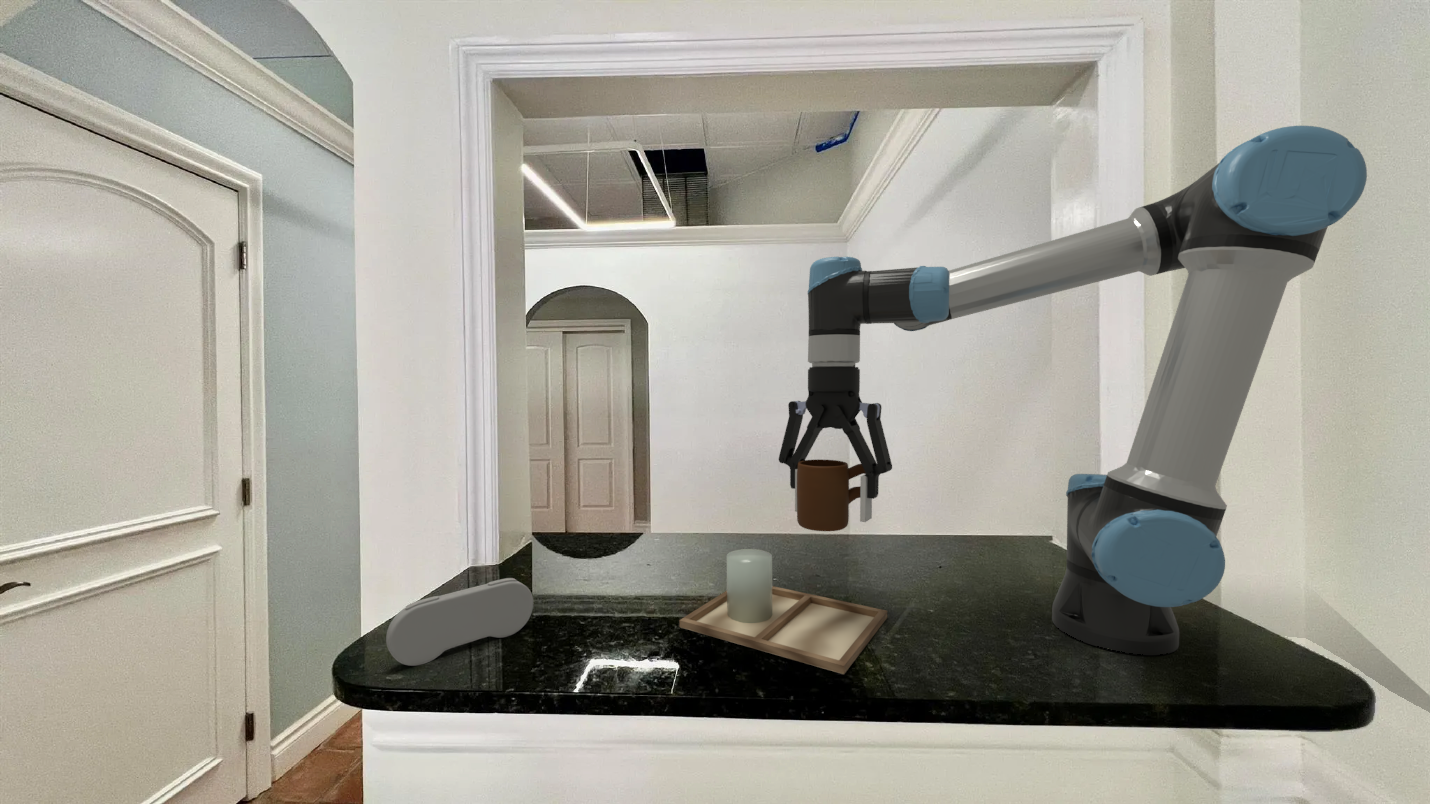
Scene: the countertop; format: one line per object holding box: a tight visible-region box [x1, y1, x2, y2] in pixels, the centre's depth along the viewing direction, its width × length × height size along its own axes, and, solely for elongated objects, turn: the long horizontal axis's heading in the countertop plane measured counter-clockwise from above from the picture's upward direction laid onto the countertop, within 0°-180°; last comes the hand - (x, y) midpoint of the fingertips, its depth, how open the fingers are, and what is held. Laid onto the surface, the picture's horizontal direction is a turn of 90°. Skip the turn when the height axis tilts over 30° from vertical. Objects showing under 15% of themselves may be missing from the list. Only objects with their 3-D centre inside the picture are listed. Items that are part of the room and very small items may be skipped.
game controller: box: [385, 577, 534, 667], centre depth 79 cm, size 20×2×8 cm, turn 133°
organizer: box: [678, 585, 888, 675], centre depth 84 cm, size 25×19×2 cm
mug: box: [796, 459, 866, 532], centre depth 83 cm, size 12×8×9 cm, turn 93°
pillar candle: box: [726, 548, 773, 623], centre depth 87 cm, size 7×7×9 cm
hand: (832, 514), depth 84 cm, fingers closed on mug, 10 cm apart
